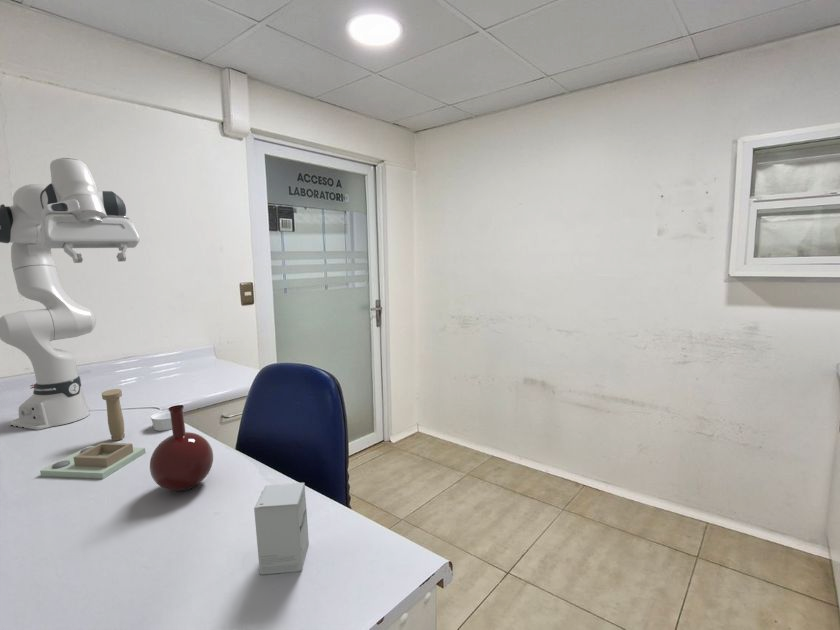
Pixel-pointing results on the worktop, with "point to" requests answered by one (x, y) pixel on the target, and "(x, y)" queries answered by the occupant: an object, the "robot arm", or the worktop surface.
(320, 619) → the worktop surface
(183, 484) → the round-bottom flask
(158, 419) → the ramekin
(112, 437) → the handle
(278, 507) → the supplement box
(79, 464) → the green board with frame
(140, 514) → the worktop surface
